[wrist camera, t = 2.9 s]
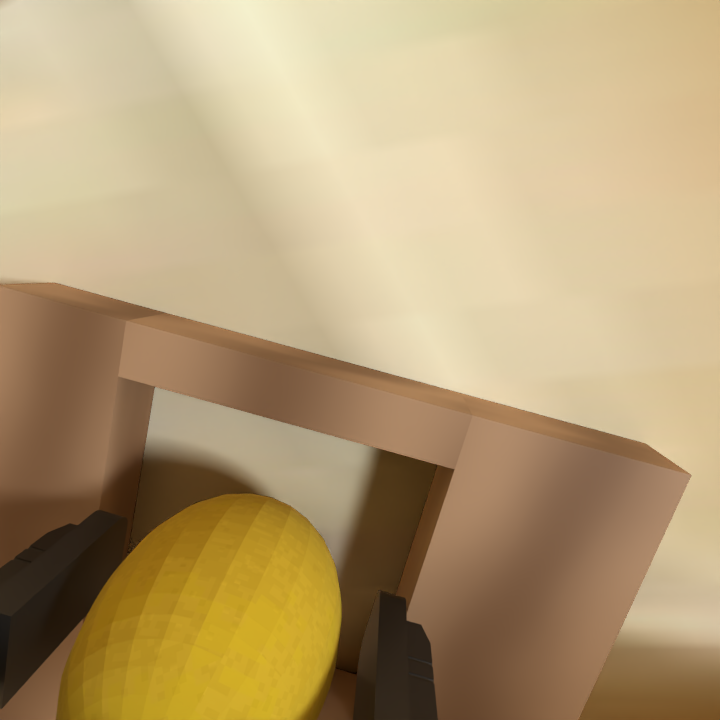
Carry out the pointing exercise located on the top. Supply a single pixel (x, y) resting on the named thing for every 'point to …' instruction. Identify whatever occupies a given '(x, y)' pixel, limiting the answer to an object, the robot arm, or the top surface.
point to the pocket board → (369, 427)
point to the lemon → (212, 621)
